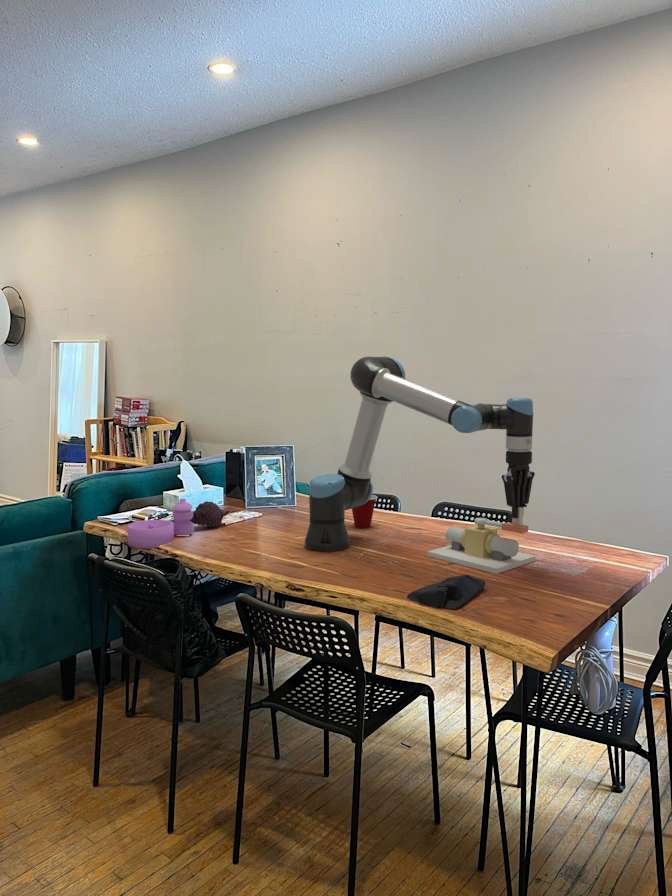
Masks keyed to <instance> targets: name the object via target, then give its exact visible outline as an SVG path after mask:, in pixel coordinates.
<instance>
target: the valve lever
mask: <svg viewBox="0 0 672 896" xmlns="http://www.w3.org/2000/svg"><path fill="white" fill-rule="evenodd" d="M474 524H475V526H477V525H485V526H487V527H493V528H499V529H501V531H507V532H511V533H517V534H521V535H522V534H525V533H528V532H529V525H526V524H523V525H521V524H515V523H512V522H509V521H507V522H499V521H495V520H490V519H488V518H486V517H476V518H475V517H474Z"/></svg>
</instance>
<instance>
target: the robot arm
mask: <svg viewBox="0 0 672 896" xmlns="http://www.w3.org/2000/svg"><path fill="white" fill-rule="evenodd" d="M350 381H351V383H352V385H353V387H354V388H355V389H356V390H357V391H358V392H359V395H360V396H361V398H362V399H361V402H360V407H359V410H358V415H357V417H356V421H355V424H354V425H355V426H354V428H353V432H352V435H351V440H350V442H349V443H350V444H349V447H348V450H347V453H346V457H345V461H344V463H342V464H341V465H340V466H339V467H338V468H337V469H338V470H337V473H328V474H320V475H318V476H315V477H313V478H312V479H310V481H309V488H308V494H309V495H308V498H309V503H308V504H309V506H308V507H309V524H308V528H307V532H306V535H305V538H304V548H306V549H307V550H310V551H316V552H337V551H343V550H346V549H348V548H349V547H351V539H350V537H349V533H348V530H347V529H348V528H347V526H346V524H345V515H346V514H345V513H346V511H347V510H350V509H351V510H352V508H357V507H359V506H361V505H363V504H365V503H366V502H367V501H368V500H369V499H370V497H371V495H373V492H374V491H373V490H374V487H373V484H372V480H371V478H372V473H371V472H370V467H371V463H372V459H373V457H374V453H375V449H376V446H377V441H378V439H379V434H380V432H381V428H382V424H383V421H384V417H385V414H386V409H387V408H388V405H389V404H391V403H397V404H400V405H401V406H404V407H407V408H409V409H410V410H413V411H416V412H419V413H421V414H424V415H427V416H428V417H431V418H433V419H436V420H438V421H440V422H444V423H445V424H448V425H451V426H452V427H453V429H455V430H456V431H457V432H459V433H463V434H472V433H475V432H479V431H484V430H505V433H506V434H505V449H506V451H505V462H506V463H507V465H508V467H507V473H505V474H502V475H501V480H502V482H503V486H504V494H505V500H506V501H505V502H506V506H508V507H510V508H511V523H515V524H521V525H524V524H523V521H524V508H527V507H528V504H529V503H530V496H531V492H532V491H531V490H532V486H533V479H534V477H535V475H536V473H535V471H531V470H530V468H531V467H530V465H531V464H532V462H533V452H532V451H531V450H532V449H533V428H534V427H533V425H534V424H533V423H534V402H533V399H531V398H528V397H509V398H507V400H506V403H505V404H504V403H503V404H499V403H498V404H497V403H496V404H495V403H493V404H492V403H472V404H469V403H467V402H464V401H462V400H459V399H456V398H454V397H451V396H449V395H446V394H444V393H441V392H439V391H436V390H433V389H431V388H428V387H426V386H424V385H421V384H418V383H415V382H413V381H410V380H408V379H406V371H405V368H404V367H403V365H402V363H401V362H400V361H399V360H398V359H396V358H394V357H390V356H363V357H361V358H359V359H358V360H356V361H355V362H354V364H353V365H352V367H351V370H350Z"/></svg>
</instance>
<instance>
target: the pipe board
mask: <svg viewBox="0 0 672 896" xmlns="http://www.w3.org/2000/svg"><path fill="white" fill-rule="evenodd" d="M445 540H446V542H447V543H450V544H451V545H447V546H443V547H439V548H436V549H431V550H428V551H427V557H430V558H433V559H437V560H441V561H445V562H449V563H452V564H453V563H454V564H457V565H461V566H465V567H468V568H472V569H477V570H480V571H484V572H487V573H490V574H491V573H492V574H499V573H503V572H506V571H509V570H512V569H514V568H518V567H521V566H524V565H527V564H530V563H533V562H536V555H531V554H527V553H524V552H519V547H520V546H519V541H518V540H517V539H512V538H507V537H503V536H501V535H500V534H499V533H498V527H493V526H488V525H473V526H469V527H465V528H459V527H453V526H449V527H448V528H447V530H446V532H445Z"/></svg>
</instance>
